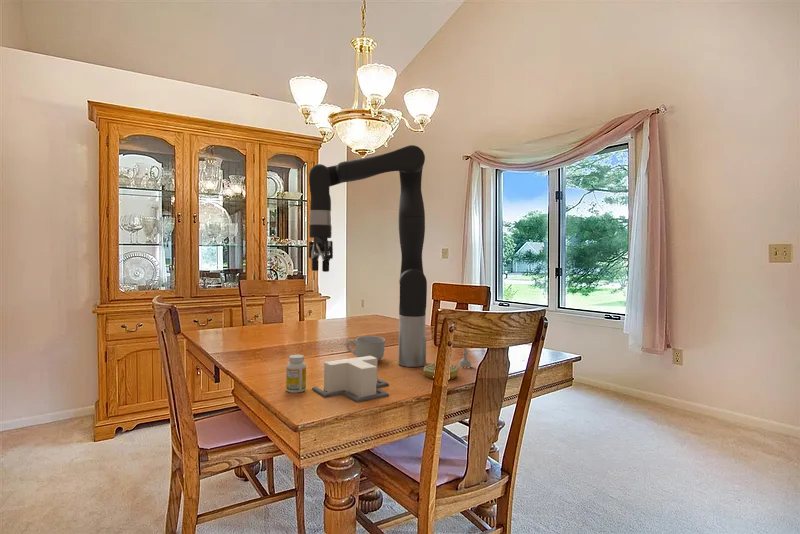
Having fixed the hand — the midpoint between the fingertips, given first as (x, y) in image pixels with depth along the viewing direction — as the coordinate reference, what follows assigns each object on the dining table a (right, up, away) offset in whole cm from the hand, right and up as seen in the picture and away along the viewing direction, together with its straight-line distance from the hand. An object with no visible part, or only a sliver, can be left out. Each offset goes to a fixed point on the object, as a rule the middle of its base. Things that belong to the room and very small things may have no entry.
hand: (320, 271), depth 155 cm
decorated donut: (+41, -34, -13) cm, 54 cm away
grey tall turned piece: (+50, -33, -1) cm, 60 cm away
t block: (+16, -33, -30) cm, 47 cm away
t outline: (+16, -33, -29) cm, 47 cm away
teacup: (+15, -32, +6) cm, 36 cm away
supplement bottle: (-2, -33, -29) cm, 44 cm away
